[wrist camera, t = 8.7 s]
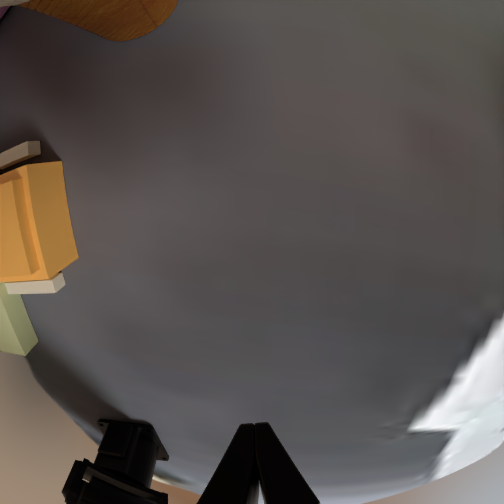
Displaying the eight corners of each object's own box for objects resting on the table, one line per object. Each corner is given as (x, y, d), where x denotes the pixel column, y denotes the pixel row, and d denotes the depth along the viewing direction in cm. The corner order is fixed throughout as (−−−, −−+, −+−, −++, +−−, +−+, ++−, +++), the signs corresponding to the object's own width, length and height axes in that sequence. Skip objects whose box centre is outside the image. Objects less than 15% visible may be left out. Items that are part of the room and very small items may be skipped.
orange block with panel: (78, 257, 18) (40, 285, 14) (11, 265, 18) (-26, 288, 14) (61, 160, 16) (16, 165, 11) (-5, 184, 16) (-47, 195, 11)
